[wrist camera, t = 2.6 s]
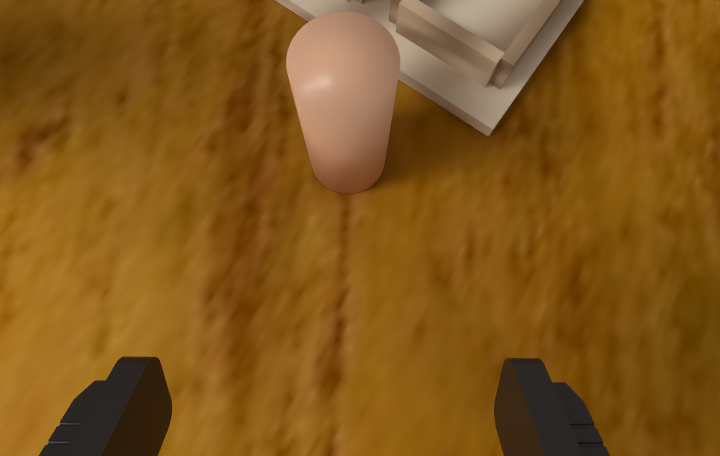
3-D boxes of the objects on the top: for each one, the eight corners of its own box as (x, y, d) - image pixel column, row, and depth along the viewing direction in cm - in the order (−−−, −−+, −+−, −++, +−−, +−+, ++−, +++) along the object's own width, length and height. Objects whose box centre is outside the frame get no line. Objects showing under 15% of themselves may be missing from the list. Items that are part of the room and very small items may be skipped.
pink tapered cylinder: (295, 166, 28) (262, 72, 18) (339, 110, 29) (331, -8, 19) (356, 208, 27) (356, 134, 18) (399, 150, 28) (422, 49, 18)
